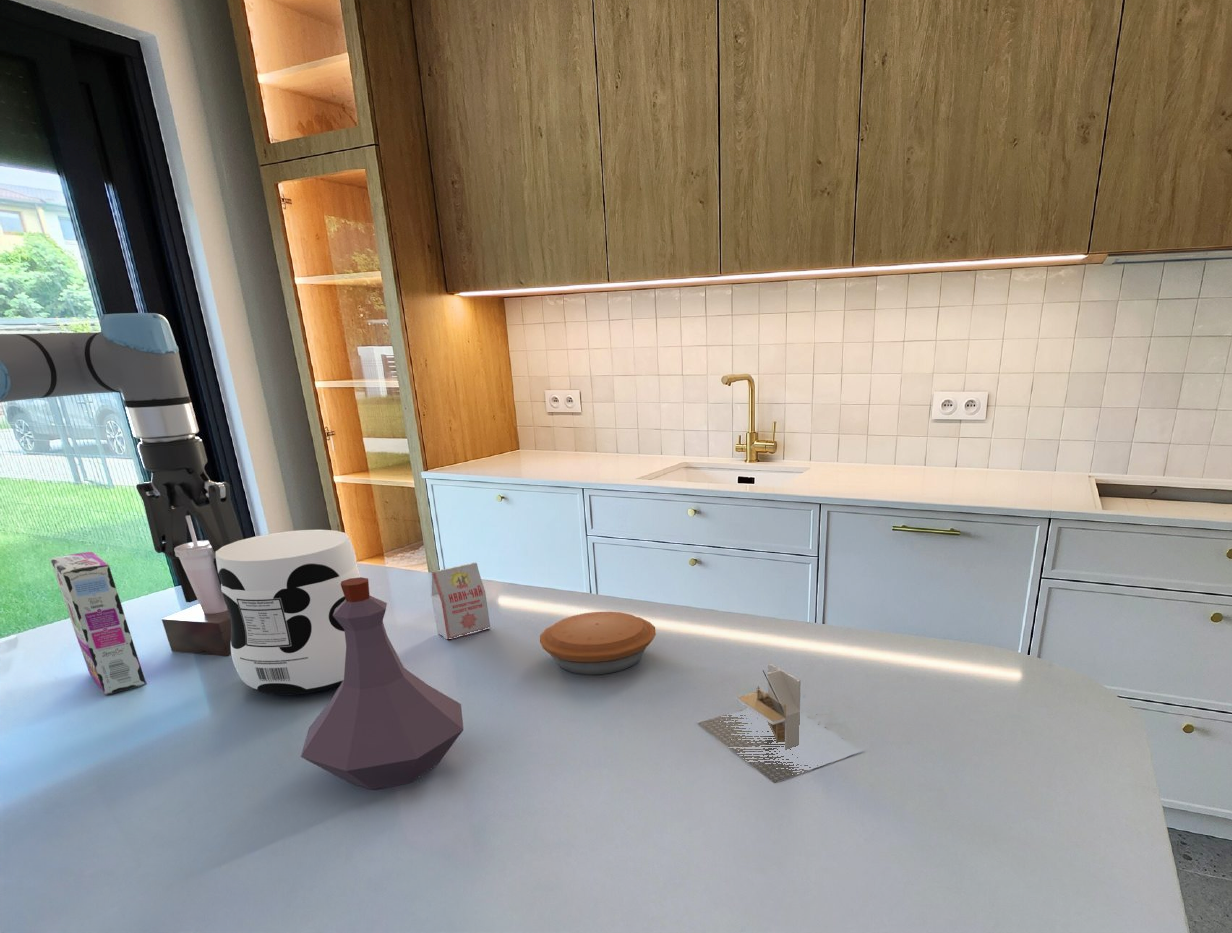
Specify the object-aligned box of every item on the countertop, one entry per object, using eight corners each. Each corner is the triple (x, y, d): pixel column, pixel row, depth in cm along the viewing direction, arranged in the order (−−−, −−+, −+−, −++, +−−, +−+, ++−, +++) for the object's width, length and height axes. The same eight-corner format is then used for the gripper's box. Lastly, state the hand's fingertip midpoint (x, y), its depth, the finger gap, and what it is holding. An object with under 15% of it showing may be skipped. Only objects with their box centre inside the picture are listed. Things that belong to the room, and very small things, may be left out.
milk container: (367, 643, 115) (342, 521, 108) (400, 681, 102) (374, 545, 95) (234, 673, 106) (197, 542, 99) (251, 720, 93) (210, 573, 86)
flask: (287, 763, 83) (238, 582, 75) (436, 714, 93) (406, 548, 85) (337, 831, 72) (285, 624, 64) (501, 767, 81) (474, 580, 73)
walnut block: (171, 651, 115) (161, 619, 113) (225, 627, 123) (216, 596, 121) (227, 656, 112) (218, 623, 110) (278, 631, 121) (270, 600, 119)
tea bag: (437, 634, 118) (426, 569, 114) (479, 623, 121) (470, 560, 118) (447, 640, 115) (437, 574, 111) (490, 629, 119) (481, 565, 115)
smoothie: (181, 615, 114) (152, 519, 108) (216, 601, 119) (190, 509, 114) (218, 617, 112) (191, 520, 107) (252, 603, 118) (227, 510, 112)
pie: (524, 679, 101) (520, 643, 99) (564, 635, 115) (560, 603, 113) (641, 685, 99) (639, 648, 97) (667, 639, 113) (665, 606, 111)
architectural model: (773, 754, 82) (774, 689, 79) (737, 727, 87) (736, 666, 84) (800, 745, 83) (801, 681, 80) (762, 719, 89) (763, 659, 86)
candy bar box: (150, 684, 104) (110, 564, 97) (104, 697, 100) (60, 573, 94) (131, 662, 111) (92, 549, 105) (88, 673, 108) (46, 556, 101)
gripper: (248, 434, 107) (288, 595, 116) (136, 434, 112) (183, 589, 121) (204, 441, 100) (250, 612, 109) (87, 441, 105) (140, 605, 114)
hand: (215, 600), depth 115 cm, fingers closed on smoothie, 6 cm apart
